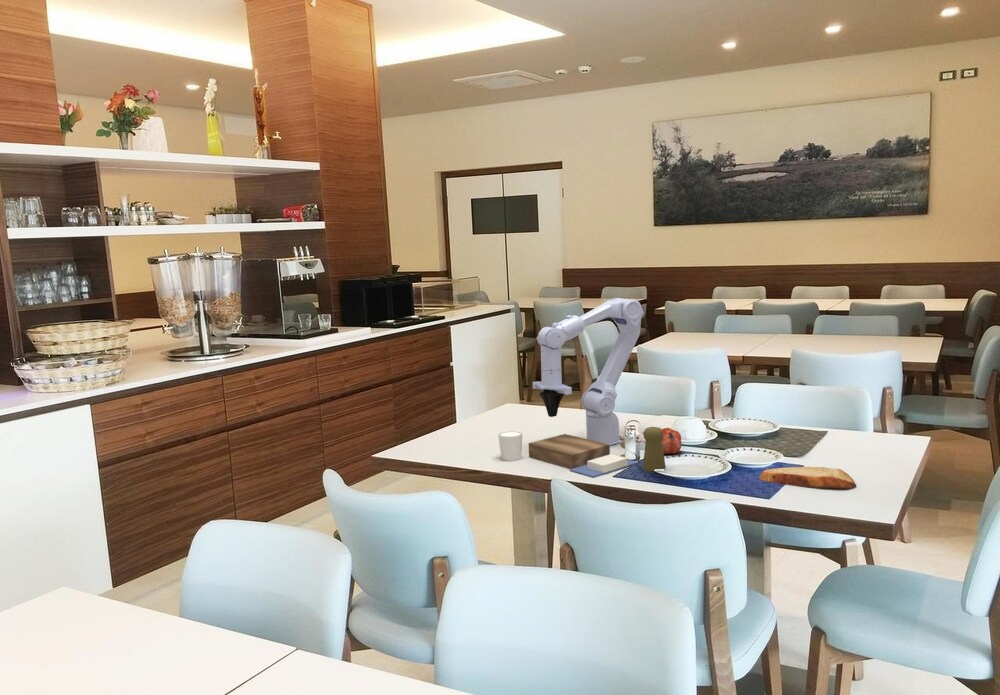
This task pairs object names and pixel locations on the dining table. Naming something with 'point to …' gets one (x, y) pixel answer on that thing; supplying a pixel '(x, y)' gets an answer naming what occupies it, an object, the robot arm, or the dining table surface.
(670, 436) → the pomegranate
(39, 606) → the dining table surface
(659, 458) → the cork
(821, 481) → the bread slice
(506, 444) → the white cup
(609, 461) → the block
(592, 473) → the mat
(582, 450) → the brown wooden slab
